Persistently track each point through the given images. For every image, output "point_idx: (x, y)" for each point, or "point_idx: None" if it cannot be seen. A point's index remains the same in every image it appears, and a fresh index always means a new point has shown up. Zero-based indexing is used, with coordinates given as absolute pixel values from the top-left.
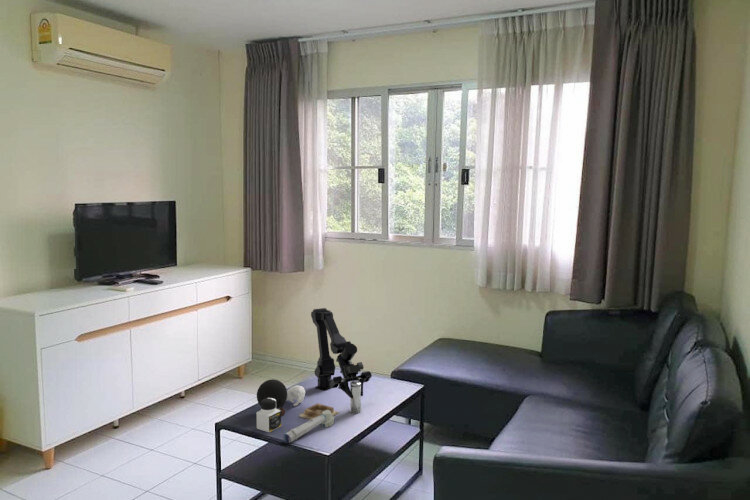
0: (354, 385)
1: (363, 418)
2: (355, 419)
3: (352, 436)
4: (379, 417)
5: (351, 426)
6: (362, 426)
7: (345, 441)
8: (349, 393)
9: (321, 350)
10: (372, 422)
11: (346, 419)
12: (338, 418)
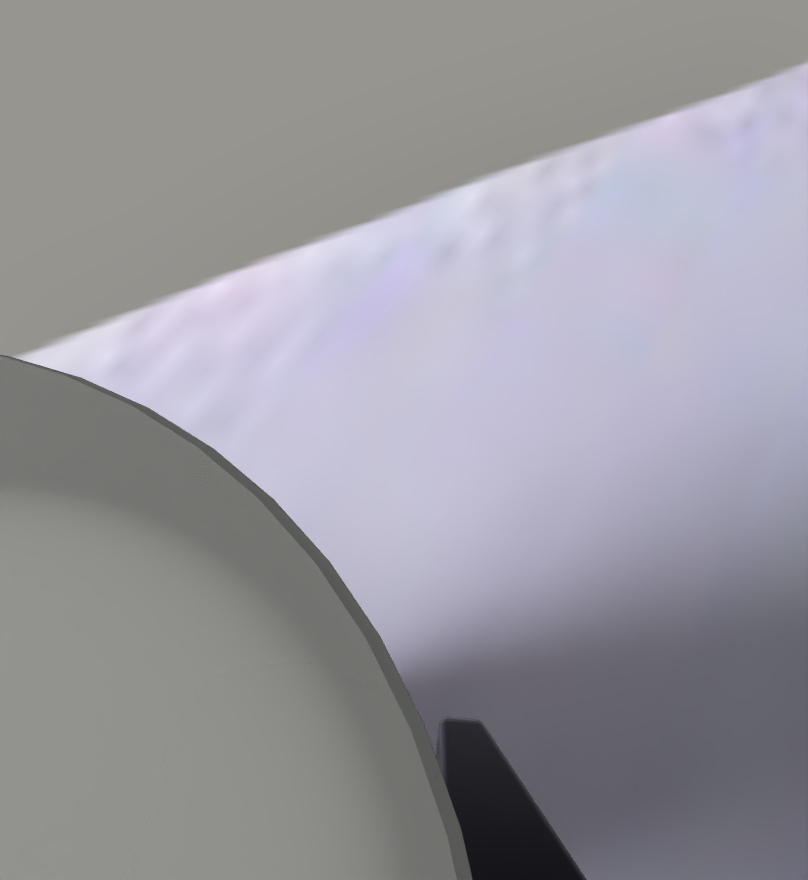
0: (285, 527)
1: (350, 437)
2: (503, 476)
3: (795, 67)
4: (89, 330)
5: (692, 290)
6: (533, 213)
7: None
8: (571, 857)
9: None
10: (317, 244)
11: (662, 568)
12: (803, 705)
